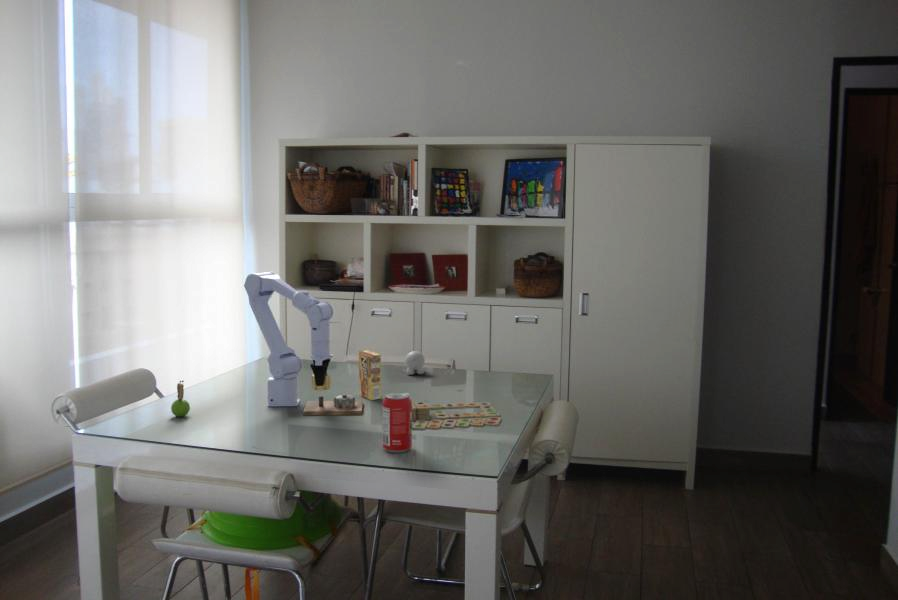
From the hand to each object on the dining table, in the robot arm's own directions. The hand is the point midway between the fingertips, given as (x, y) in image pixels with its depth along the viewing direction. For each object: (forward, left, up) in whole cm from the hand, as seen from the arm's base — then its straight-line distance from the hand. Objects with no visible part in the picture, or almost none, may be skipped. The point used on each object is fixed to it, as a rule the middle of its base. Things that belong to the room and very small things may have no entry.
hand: (320, 383), depth 263 cm
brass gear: (0, 0, -2) cm, 2 cm away
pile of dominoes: (+39, -10, -9) cm, 41 cm away
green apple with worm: (-42, -7, -9) cm, 43 cm away
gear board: (+4, 0, -8) cm, 9 cm away
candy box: (+15, +16, -9) cm, 24 cm away
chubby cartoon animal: (+31, +55, -9) cm, 64 cm away
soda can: (+24, -43, -9) cm, 50 cm away
